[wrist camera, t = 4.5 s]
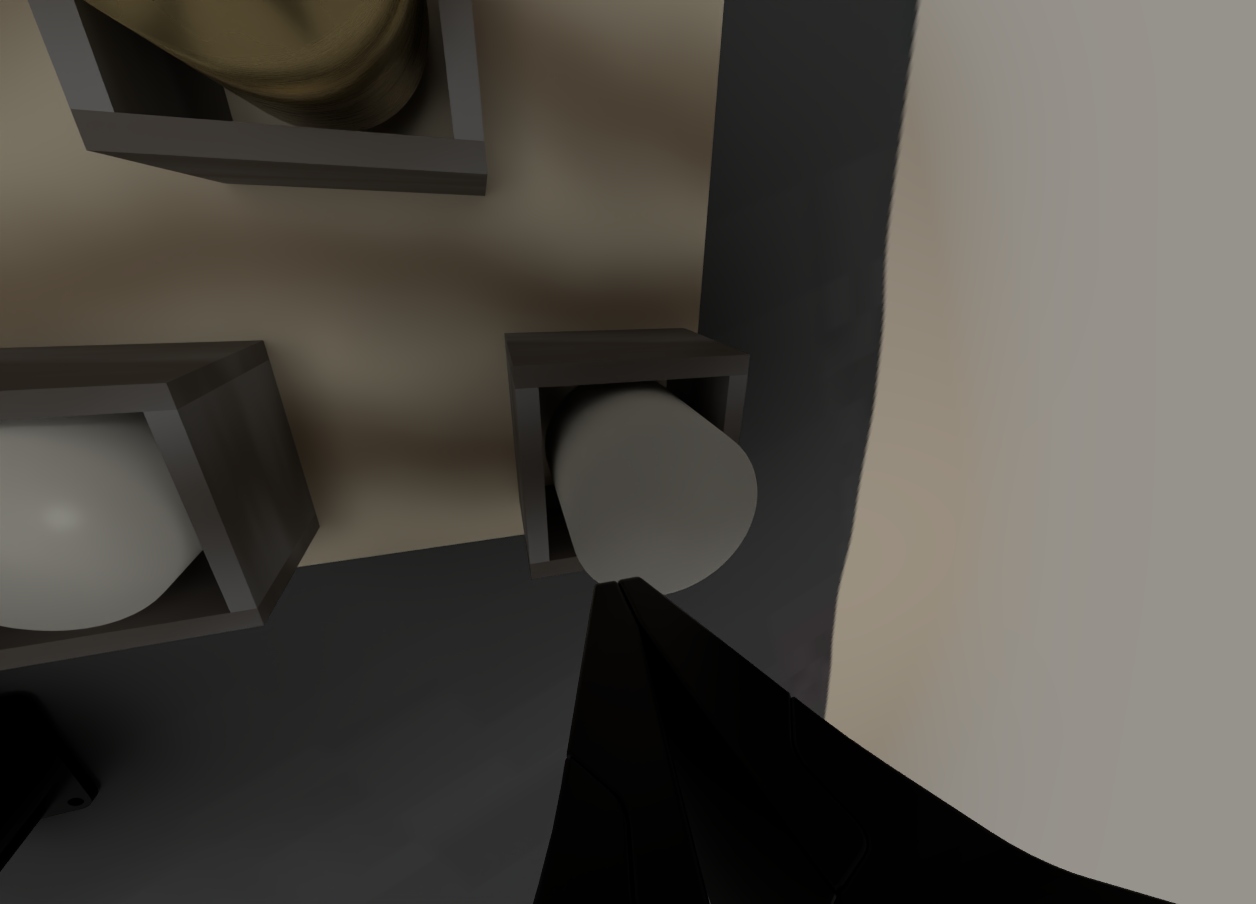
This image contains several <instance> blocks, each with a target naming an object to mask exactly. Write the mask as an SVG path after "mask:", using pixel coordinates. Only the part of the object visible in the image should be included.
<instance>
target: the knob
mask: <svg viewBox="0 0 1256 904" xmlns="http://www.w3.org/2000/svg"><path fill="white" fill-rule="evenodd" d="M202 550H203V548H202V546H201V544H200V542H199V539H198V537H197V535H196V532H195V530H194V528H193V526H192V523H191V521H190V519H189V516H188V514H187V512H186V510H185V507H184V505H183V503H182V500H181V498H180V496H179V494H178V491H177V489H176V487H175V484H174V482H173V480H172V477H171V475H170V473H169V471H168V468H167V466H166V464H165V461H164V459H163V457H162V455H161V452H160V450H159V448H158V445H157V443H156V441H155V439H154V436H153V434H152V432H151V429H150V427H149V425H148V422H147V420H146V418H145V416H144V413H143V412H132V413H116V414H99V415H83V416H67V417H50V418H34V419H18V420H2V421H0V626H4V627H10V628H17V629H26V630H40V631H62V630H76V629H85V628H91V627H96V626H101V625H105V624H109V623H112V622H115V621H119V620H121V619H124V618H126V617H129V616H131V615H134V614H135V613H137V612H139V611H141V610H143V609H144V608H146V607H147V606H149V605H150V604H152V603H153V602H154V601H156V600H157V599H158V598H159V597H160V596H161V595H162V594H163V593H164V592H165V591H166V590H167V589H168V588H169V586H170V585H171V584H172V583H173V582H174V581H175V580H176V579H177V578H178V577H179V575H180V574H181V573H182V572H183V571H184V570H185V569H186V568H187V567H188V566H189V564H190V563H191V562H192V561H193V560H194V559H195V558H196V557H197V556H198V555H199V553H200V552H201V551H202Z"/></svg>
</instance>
